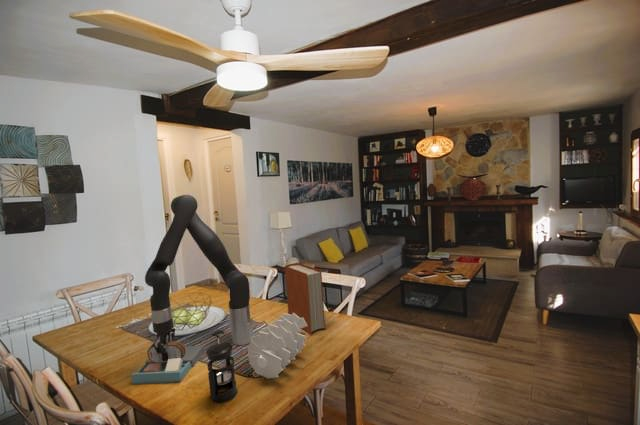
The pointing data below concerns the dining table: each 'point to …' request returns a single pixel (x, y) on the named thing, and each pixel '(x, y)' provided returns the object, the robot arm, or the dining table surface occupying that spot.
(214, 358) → the french press
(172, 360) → the cream tile
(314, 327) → the book
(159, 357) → the tin
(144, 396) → the dining table surface
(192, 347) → the grey stone slab
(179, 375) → the tray
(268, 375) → the grey pine cone
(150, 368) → the terracotta tile
